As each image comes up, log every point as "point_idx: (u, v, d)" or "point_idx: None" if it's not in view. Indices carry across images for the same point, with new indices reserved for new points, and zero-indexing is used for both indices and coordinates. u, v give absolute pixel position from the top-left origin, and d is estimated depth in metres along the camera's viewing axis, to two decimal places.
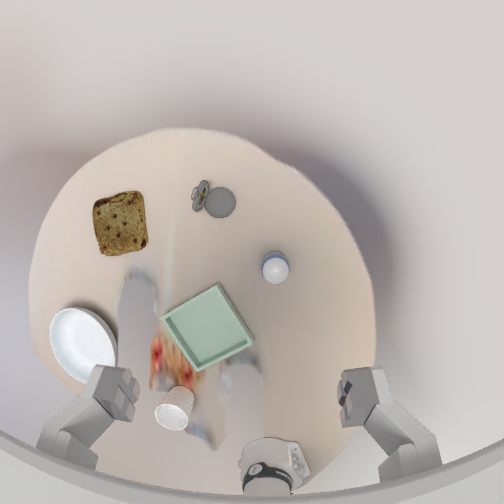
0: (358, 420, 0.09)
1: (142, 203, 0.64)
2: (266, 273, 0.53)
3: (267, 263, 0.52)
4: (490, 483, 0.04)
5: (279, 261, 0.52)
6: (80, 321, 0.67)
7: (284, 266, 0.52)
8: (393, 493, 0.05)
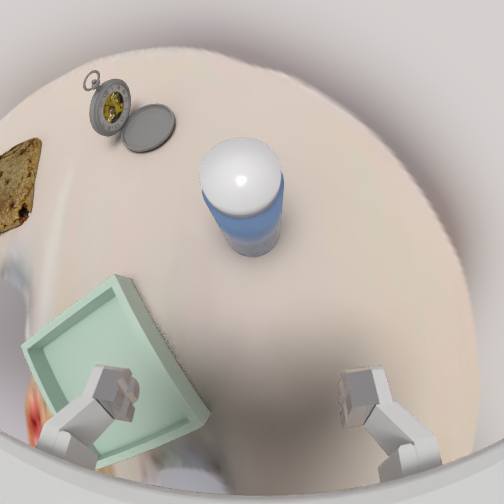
0: (358, 420, 0.09)
1: (37, 152, 0.32)
2: (211, 178, 0.16)
3: (214, 152, 0.17)
4: (490, 483, 0.04)
5: (250, 145, 0.17)
6: None
7: (266, 156, 0.16)
8: (393, 493, 0.05)
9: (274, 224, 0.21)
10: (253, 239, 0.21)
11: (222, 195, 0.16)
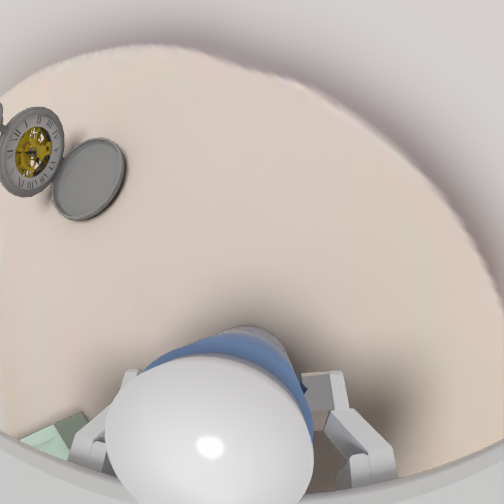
0: (316, 425, 0.09)
1: None
2: (135, 465, 0.05)
3: (130, 399, 0.05)
4: (490, 483, 0.04)
5: (227, 393, 0.05)
6: None
7: (277, 430, 0.05)
8: (393, 493, 0.05)
9: None
10: None
11: None
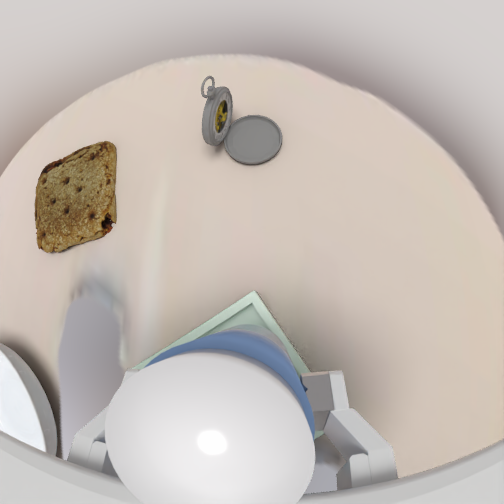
0: (316, 425, 0.09)
1: (113, 156, 0.34)
2: (135, 462, 0.05)
3: (130, 395, 0.05)
4: (490, 483, 0.04)
5: (228, 389, 0.05)
6: (5, 370, 0.29)
7: (277, 426, 0.05)
8: (393, 493, 0.05)
9: None
10: None
11: (167, 502, 0.05)
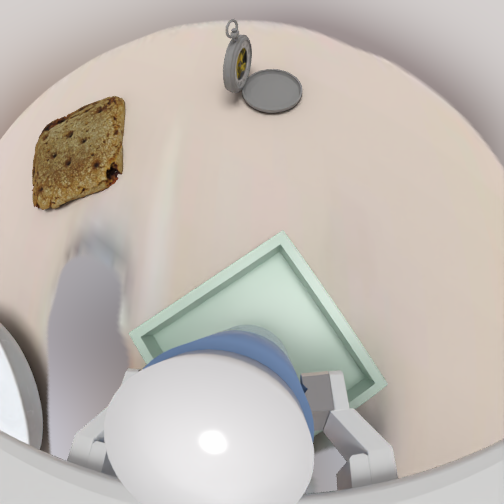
0: (316, 425, 0.09)
1: (122, 109, 0.31)
2: (134, 463, 0.05)
3: (129, 396, 0.05)
4: (490, 483, 0.04)
5: (227, 390, 0.05)
6: None
7: (276, 428, 0.05)
8: (393, 493, 0.05)
9: None
10: None
11: (166, 503, 0.05)
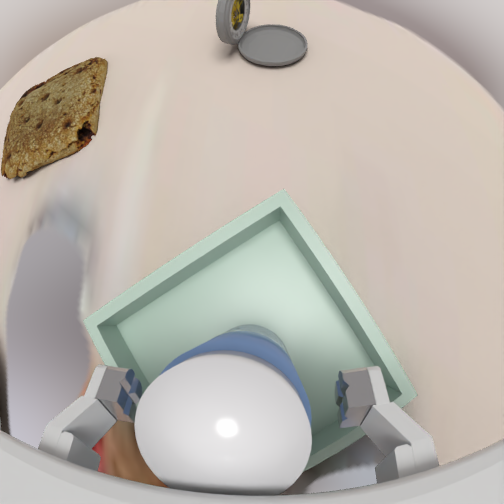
0: (355, 420, 0.09)
1: (103, 69, 0.25)
2: (161, 448, 0.06)
3: (158, 391, 0.07)
4: (490, 483, 0.04)
5: (241, 384, 0.07)
6: None
7: (281, 414, 0.06)
8: (393, 493, 0.05)
9: None
10: None
11: (188, 482, 0.06)
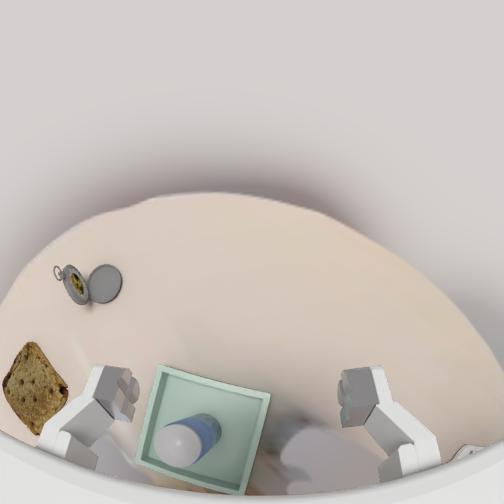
0: (358, 420, 0.09)
1: (38, 349, 0.40)
2: (167, 458, 0.23)
3: (156, 445, 0.24)
4: (490, 483, 0.04)
5: (168, 431, 0.24)
6: None
7: (180, 431, 0.24)
8: (393, 493, 0.05)
9: (211, 438, 0.28)
10: (208, 450, 0.28)
11: (179, 462, 0.23)
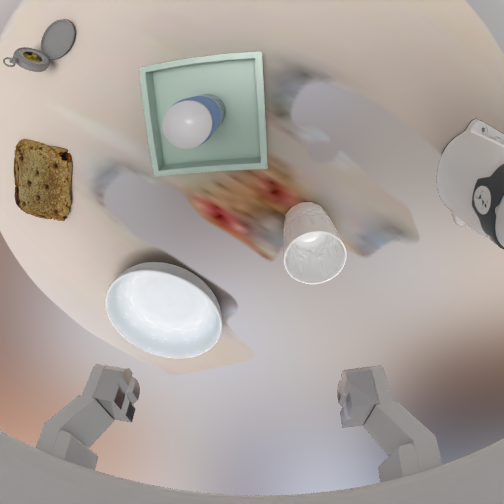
0: (358, 420, 0.09)
1: (27, 141, 0.37)
2: (183, 141, 0.26)
3: (167, 134, 0.26)
4: (490, 483, 0.04)
5: (172, 112, 0.25)
6: (138, 296, 0.53)
7: (184, 106, 0.24)
8: (393, 493, 0.05)
9: (217, 108, 0.29)
10: (219, 123, 0.31)
11: (196, 139, 0.26)
